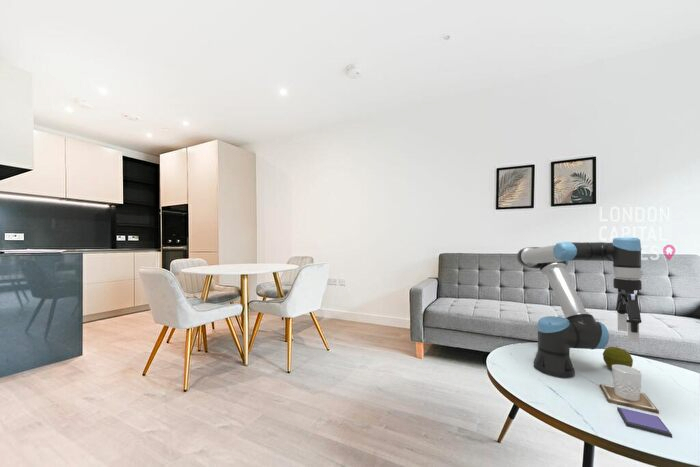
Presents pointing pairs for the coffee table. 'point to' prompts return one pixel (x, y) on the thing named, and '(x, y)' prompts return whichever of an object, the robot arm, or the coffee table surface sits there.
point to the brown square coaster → (642, 404)
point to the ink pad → (644, 422)
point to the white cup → (626, 382)
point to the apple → (617, 357)
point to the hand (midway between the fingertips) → (627, 335)
